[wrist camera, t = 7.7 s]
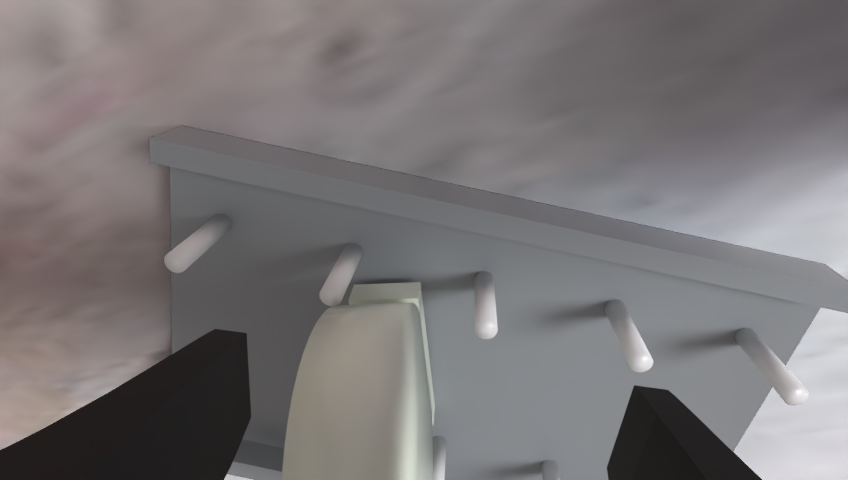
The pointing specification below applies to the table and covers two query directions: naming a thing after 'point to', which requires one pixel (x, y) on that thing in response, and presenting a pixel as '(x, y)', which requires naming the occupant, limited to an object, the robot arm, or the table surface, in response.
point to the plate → (364, 391)
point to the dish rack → (479, 304)
